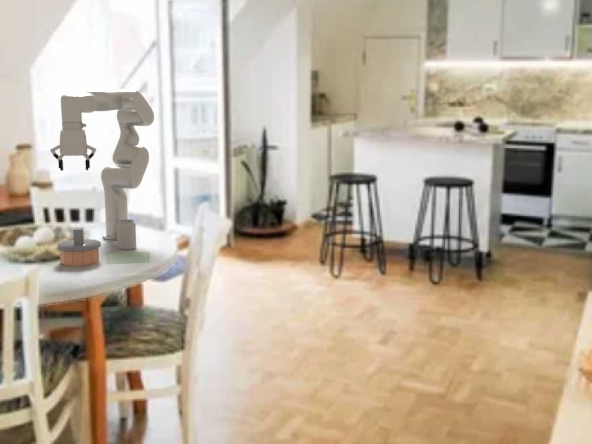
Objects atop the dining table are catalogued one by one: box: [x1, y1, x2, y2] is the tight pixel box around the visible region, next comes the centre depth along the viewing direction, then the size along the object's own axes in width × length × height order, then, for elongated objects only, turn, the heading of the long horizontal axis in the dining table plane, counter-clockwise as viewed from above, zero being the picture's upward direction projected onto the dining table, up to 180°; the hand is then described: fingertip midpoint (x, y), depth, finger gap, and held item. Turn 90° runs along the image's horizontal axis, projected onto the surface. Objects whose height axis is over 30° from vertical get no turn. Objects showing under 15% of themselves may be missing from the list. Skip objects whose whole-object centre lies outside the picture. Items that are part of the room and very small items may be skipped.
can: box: [116, 218, 137, 251], centre depth 300 cm, size 8×8×12 cm
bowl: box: [59, 247, 100, 267], centre depth 280 cm, size 14×14×6 cm
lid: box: [56, 227, 102, 252], centre depth 279 cm, size 16×16×7 cm
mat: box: [105, 251, 150, 265], centre depth 286 cm, size 16×16×1 cm
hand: (74, 170), depth 289 cm, fingers open, 9 cm apart
